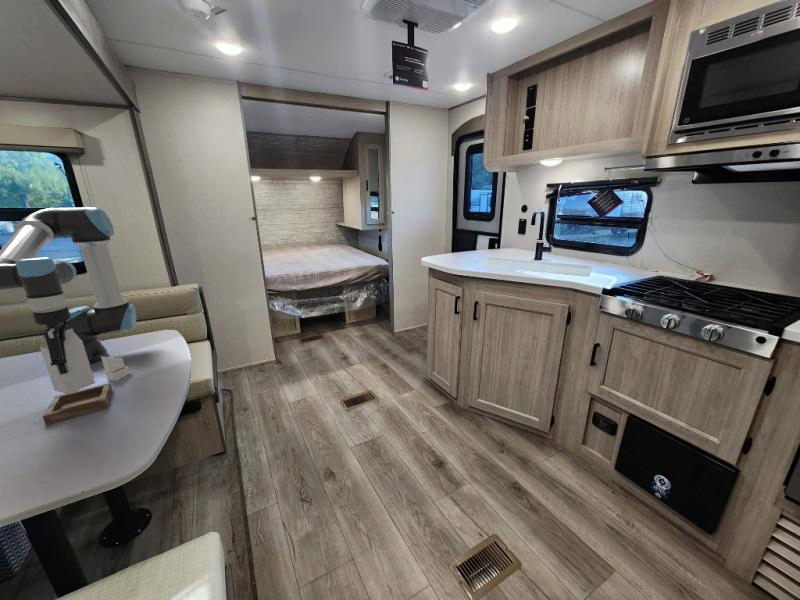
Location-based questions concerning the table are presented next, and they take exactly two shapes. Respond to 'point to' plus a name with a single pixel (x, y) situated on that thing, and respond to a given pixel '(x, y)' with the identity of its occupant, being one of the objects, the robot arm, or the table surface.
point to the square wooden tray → (78, 403)
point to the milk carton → (76, 361)
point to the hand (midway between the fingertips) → (71, 375)
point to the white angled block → (114, 368)
